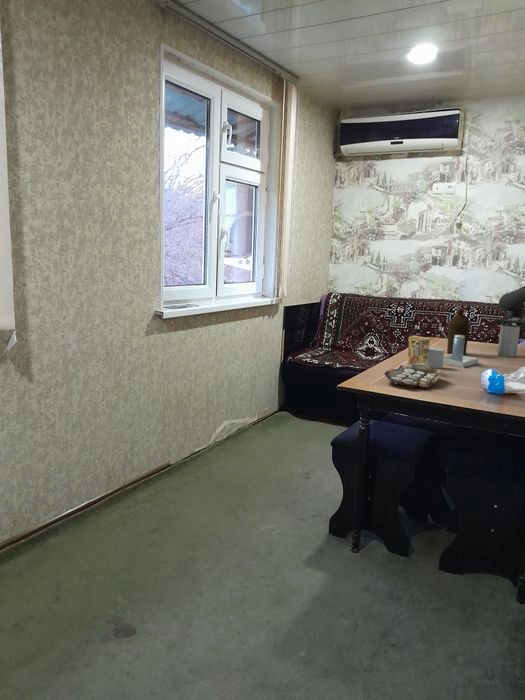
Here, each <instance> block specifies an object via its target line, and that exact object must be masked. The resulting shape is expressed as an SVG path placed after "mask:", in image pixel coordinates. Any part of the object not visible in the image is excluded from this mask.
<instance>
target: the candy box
mask: <svg viewBox="0 0 525 700" xmlns="http://www.w3.org/2000/svg"><path fill="white" fill-rule="evenodd" d="M408 338H409V339H408V348H407V349H408V352H407V362H406V363H407V364H406V365H409V364H411V363H412V364H415V363H421V364H427V365H428V355H429V348H430V343H431V342H430V341H431V338H429V337H424V336H418V335H410V336H408Z"/></svg>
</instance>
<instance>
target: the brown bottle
mask: <svg viewBox="0 0 525 700" xmlns="http://www.w3.org/2000/svg"><path fill="white" fill-rule="evenodd" d="M464 309H465V308H464V307H460V306H459V307H457V310H456V315H454V316H453V317H452V318H451V319H450V320H449V322H448V326H447V327H448V328H447V331H448V332H447V347H446V351H447V355H449V354H453V343H454V337H455V335H464V336H465V342H464V352H463V356H466V353H467V347H468V339H469V333H470V328H471V327H470V325H471V324H470V321H469V320H468V319H467V318H466V316H465V315H464V311H465V310H464Z"/></svg>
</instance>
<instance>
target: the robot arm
mask: <svg viewBox="0 0 525 700" xmlns="http://www.w3.org/2000/svg"><path fill="white" fill-rule="evenodd" d="M498 305H499V308H500V309H501V310H502V311H505V312H509V313H508V314H506V315H505V316H504V317H501V319H500V318H495V319H494V322H493V323H494V324H496V325H500V331H499V335H498V337H499V339H498V345H497V346H498V348H497V356H500V357H505V358H516V357H517V354H518V348H519V347H518V344H519V338H520V328H521V331H522V332H523V333H525V316H524V309H525V285H523V286H521V287H520V288H518V289H516V290H512V291H509V292H507V293H504V294H503V295H501V297H500V298H499V300H498ZM523 316H524V317H523Z"/></svg>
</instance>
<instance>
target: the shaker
mask: <svg viewBox="0 0 525 700" xmlns="http://www.w3.org/2000/svg"><path fill="white" fill-rule="evenodd" d="M464 342H465V336H464V335H455V337H454V343H453V354H452V360H454V361H460V362H463V356H464V355H463V352H464Z"/></svg>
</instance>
